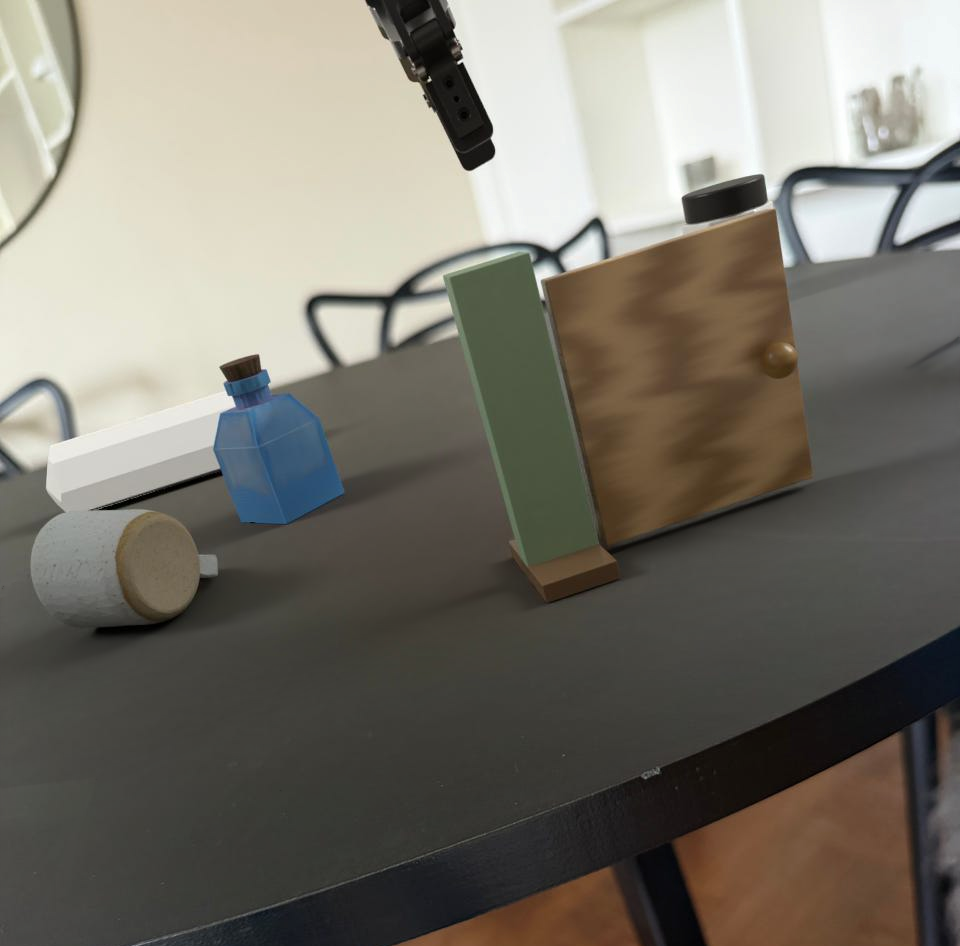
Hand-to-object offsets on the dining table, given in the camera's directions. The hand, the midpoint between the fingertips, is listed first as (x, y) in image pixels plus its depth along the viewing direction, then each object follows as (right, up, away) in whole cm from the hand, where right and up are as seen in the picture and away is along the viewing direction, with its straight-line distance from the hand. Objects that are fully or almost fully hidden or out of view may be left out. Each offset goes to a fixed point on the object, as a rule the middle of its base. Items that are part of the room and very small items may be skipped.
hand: (480, 155), depth 57 cm
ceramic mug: (-22, -25, +11) cm, 35 cm away
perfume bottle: (-15, -17, +25) cm, 34 cm away
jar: (+27, +7, +49) cm, 56 cm away
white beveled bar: (-31, -11, +47) cm, 58 cm away
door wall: (+5, -23, -2) cm, 24 cm away
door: (+13, -20, -2) cm, 24 cm away
